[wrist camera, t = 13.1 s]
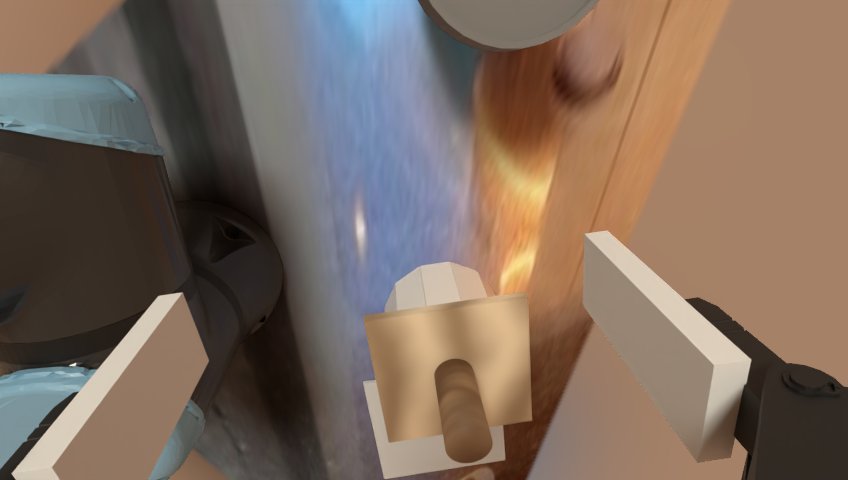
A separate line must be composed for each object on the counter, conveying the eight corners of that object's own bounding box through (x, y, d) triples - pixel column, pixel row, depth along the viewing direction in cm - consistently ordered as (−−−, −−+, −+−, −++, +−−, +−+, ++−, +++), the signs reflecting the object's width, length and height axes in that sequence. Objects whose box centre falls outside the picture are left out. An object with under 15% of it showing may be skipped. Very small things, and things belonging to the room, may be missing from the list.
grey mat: (384, 476, 62) (384, 479, 62) (363, 381, 55) (363, 383, 55) (504, 457, 62) (505, 460, 62) (498, 360, 56) (498, 363, 55)
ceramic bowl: (394, 362, 55) (397, 425, 46) (378, 271, 50) (377, 323, 41) (497, 347, 55) (518, 406, 46) (490, 255, 50) (514, 303, 41)
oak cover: (388, 434, 46) (390, 521, 38) (364, 315, 41) (360, 387, 32) (529, 412, 47) (560, 494, 39) (524, 291, 41) (560, 357, 33)
